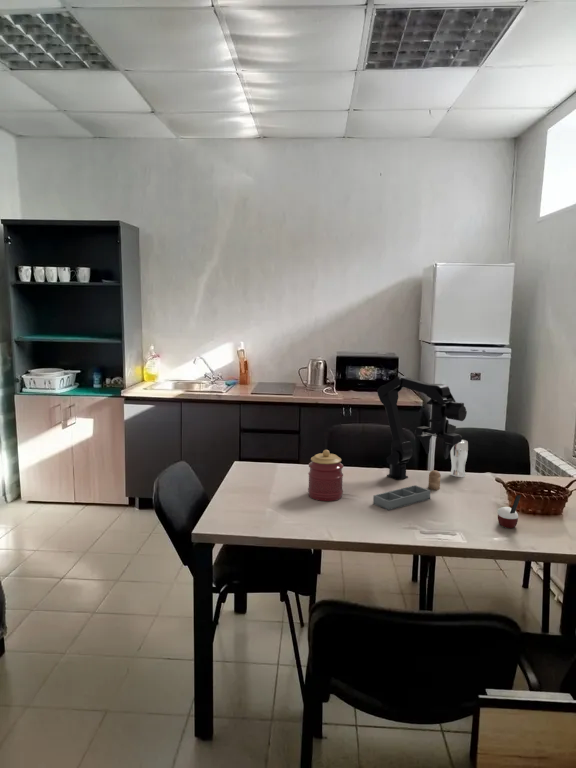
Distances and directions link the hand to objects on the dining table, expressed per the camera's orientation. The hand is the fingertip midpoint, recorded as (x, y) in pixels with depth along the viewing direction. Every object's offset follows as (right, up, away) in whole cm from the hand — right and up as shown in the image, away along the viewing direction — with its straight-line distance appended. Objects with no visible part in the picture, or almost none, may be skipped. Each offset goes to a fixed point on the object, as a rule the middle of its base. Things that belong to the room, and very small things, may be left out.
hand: (436, 456), depth 213 cm
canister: (-44, -14, -9) cm, 47 cm away
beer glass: (+14, -11, +19) cm, 26 cm away
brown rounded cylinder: (0, -13, +2) cm, 13 cm away
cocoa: (+13, -18, -36) cm, 42 cm away
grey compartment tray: (-16, -15, -14) cm, 26 cm away
